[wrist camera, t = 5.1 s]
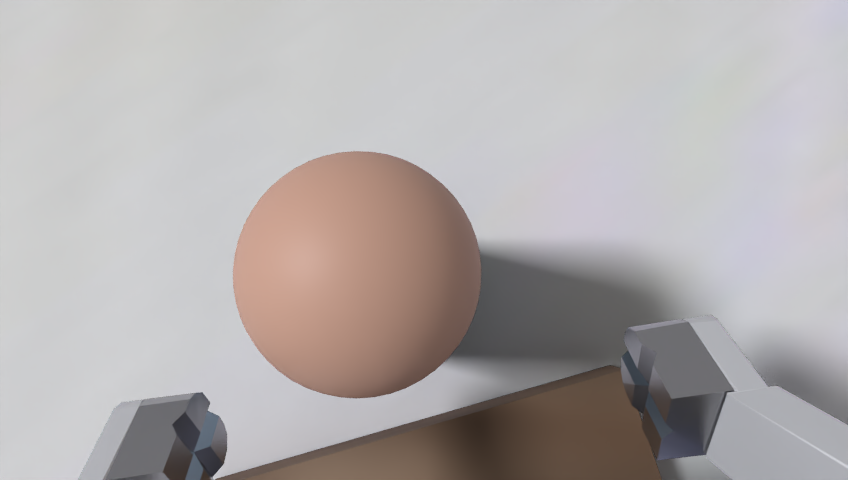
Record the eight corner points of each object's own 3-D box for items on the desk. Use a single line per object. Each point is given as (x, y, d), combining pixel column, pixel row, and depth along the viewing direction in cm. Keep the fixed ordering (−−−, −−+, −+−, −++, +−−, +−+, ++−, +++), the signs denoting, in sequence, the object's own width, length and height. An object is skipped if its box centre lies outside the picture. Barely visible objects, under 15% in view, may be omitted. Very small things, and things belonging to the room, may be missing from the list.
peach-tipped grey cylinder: (478, 336, 19) (533, 370, 7) (364, 369, 19) (217, 461, 7) (445, 224, 19) (441, 75, 7) (336, 256, 19) (154, 158, 7)
